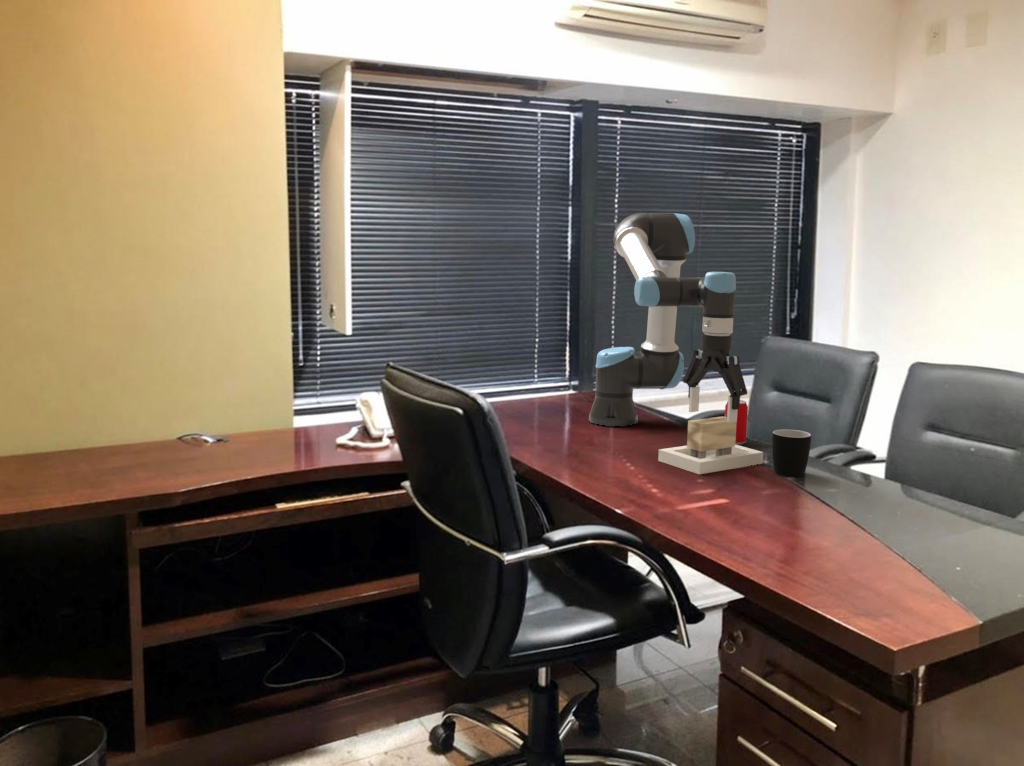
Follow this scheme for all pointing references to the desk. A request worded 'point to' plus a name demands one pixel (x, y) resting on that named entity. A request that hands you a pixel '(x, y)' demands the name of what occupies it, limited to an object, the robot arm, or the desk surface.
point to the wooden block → (711, 434)
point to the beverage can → (740, 422)
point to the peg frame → (710, 458)
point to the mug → (790, 451)
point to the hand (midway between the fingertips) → (712, 416)
